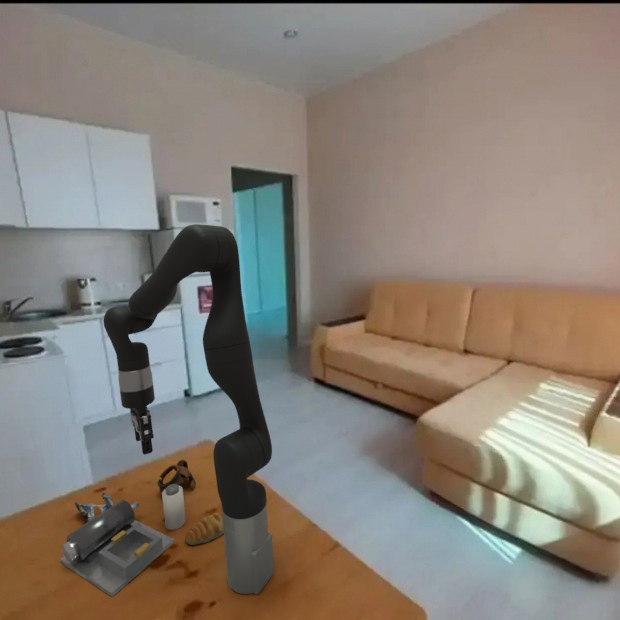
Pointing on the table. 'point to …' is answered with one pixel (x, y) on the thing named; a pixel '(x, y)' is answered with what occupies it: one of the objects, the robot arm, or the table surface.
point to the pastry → (205, 530)
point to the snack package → (89, 510)
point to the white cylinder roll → (173, 506)
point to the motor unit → (113, 548)
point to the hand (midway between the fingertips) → (144, 446)
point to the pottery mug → (177, 475)
